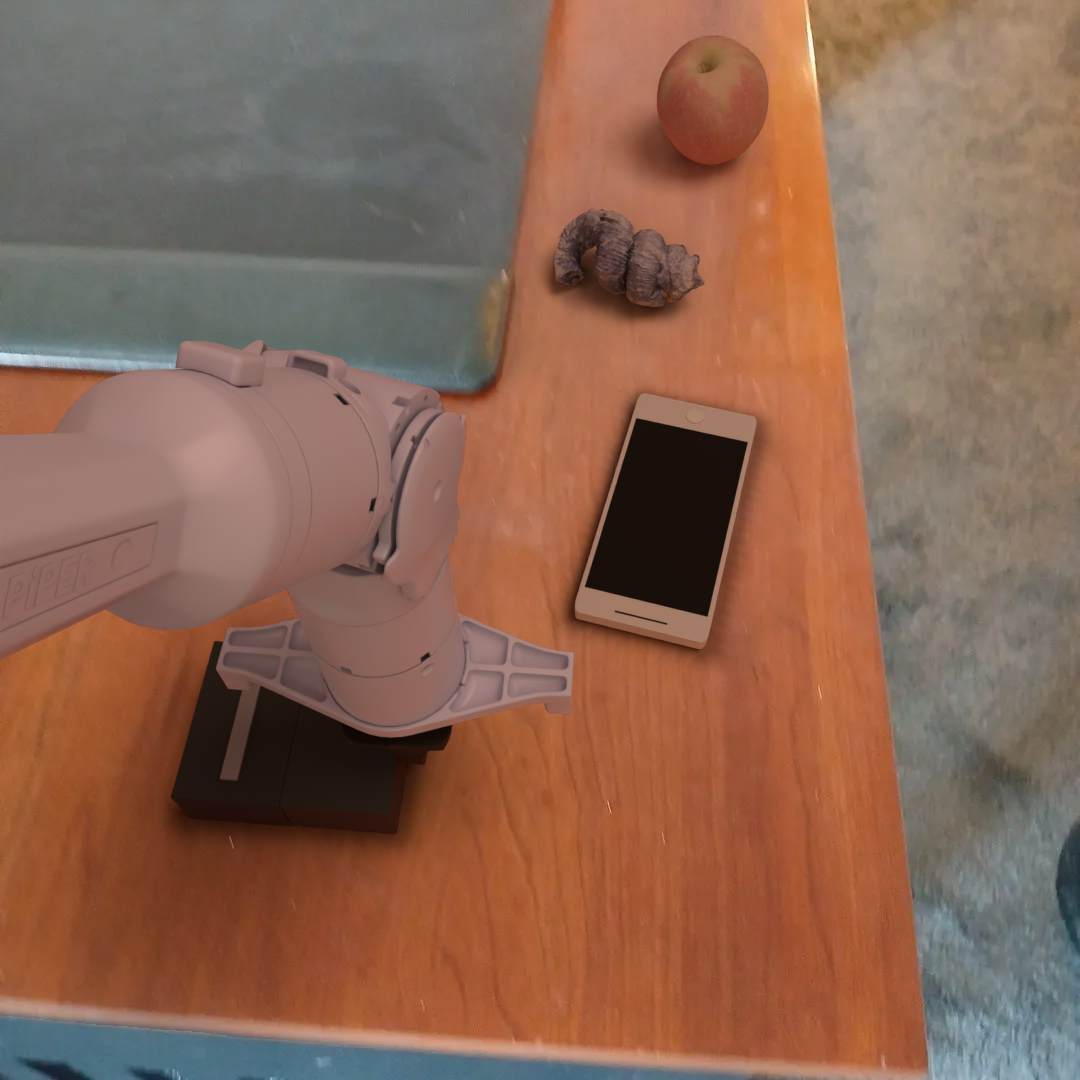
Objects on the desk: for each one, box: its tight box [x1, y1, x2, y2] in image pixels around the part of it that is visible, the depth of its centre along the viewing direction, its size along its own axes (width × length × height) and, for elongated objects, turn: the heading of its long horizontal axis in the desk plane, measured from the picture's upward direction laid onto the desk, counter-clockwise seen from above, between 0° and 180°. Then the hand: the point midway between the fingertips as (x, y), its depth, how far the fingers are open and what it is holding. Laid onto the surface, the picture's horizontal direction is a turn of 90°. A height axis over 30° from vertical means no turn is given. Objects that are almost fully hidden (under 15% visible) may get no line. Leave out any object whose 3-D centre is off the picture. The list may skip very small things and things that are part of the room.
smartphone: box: [574, 392, 757, 650], centre depth 59 cm, size 7×15×1 cm, turn 164°
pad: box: [279, 704, 409, 835], centre depth 51 cm, size 8×5×3 cm, turn 175°
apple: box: [656, 35, 770, 166], centre depth 73 cm, size 8×8×8 cm
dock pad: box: [170, 640, 301, 827], centre depth 51 cm, size 8×5×3 cm, turn 175°
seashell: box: [553, 208, 706, 308], centre depth 67 cm, size 5×5×10 cm
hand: (419, 744), depth 51 cm, fingers closed, pressing on pad
